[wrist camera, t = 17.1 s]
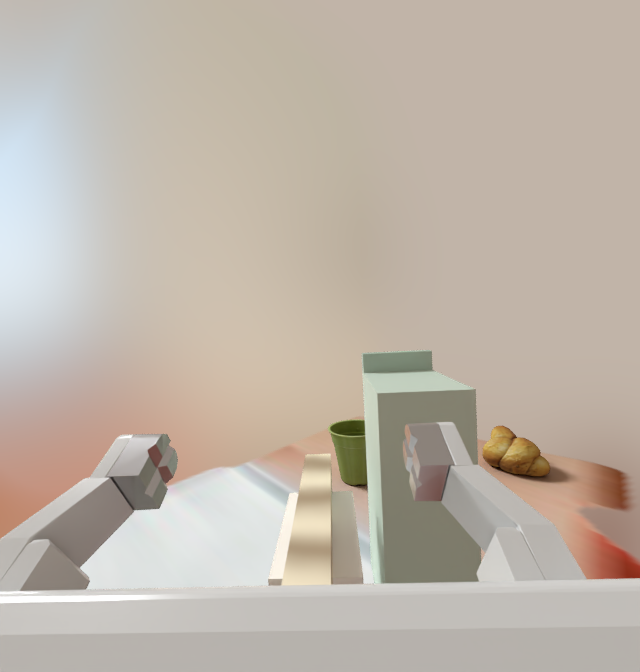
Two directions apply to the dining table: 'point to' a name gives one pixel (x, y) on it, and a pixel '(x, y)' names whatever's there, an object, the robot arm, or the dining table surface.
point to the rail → (312, 527)
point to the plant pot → (350, 450)
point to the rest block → (343, 541)
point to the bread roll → (514, 453)
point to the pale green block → (393, 478)
